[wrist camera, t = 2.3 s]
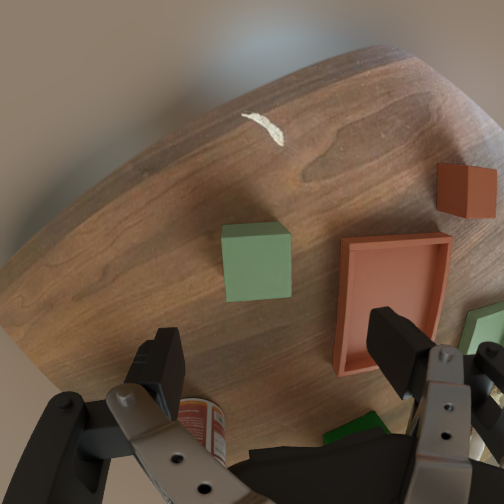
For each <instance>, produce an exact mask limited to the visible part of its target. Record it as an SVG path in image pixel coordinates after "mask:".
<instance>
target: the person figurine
mask: <svg viewBox="0 0 504 504" xmlns="http://www.w3.org/2000/svg"><path fill="white" fill-rule="evenodd" d="M499 401H500V405H499V406H500V408H501V409H503V407H504V394H503V395H502V396H501V397H500V399H499ZM472 431H473V432H472V433H471V434H470V450H469V458H471V459H474V460H477V461H479V459H480V457H481V455H482V453H483V450H484V446H485V443H484V442H483V440H482V439H481V437H480V436H479V435H478V433H477V432H476V430H475V429H474V428H473V427H472Z"/></svg>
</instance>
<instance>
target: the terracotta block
mask: <svg viewBox="0 0 504 504" xmlns="http://www.w3.org/2000/svg"><path fill="white" fill-rule="evenodd" d="M437 166H438V187H437V210H438V211H442V212H445V213H449V214H452V215H456V216H459V217H463V218H466V219H477V218H495V214H496V197H497V170H494V169H488V168H482V167H475V166H469V165H455V164H437Z"/></svg>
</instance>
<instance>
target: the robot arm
mask: <svg viewBox="0 0 504 504" xmlns="http://www.w3.org/2000/svg"><path fill="white" fill-rule="evenodd" d="M366 346H367V350H368V353H369V354H370V356H371V357H372V359H373V360H374V361H375V363H376V364H377V366H378V367H379V368H380V370H381V371H382V373H383V374H384V375H385V377H386V378H387V380H388V381H389V382H390V384H391V385H392V387H393V388H394V390H395V391H396V392H397V394H398V395H399V397H400V398H401V400H405V399H408V398H411V397H413V398H414V402H413V405H412V409H411V413H410V417H409V422H408V426H407V430H406V433H405V435H404V434H386V433H385V432H384V430H383V428H382V426H378V427H374V428H371V429H367V430H363V431H359V432H355V433H352V434H349V435H347V436H345V437H343V438H341V439H339V440H336V441H334V442H332V443H330V444H327V445H325V446H322V447H289V446H281V447H273V448H264V449H254V450H249V457H250V459H248V460H245V461H242V462H239V463H237V464H234V465H232V466H230V467H228V468H226V467H225V466H224V465H222V464H221V463H220V462H219V461H218V460H217V459H216V458H215V457H214V456H213V455H212V454H211V453H210V452H209V451H208V450H207V449H206V448H205V447H204V446H203V445H202V444H201V443H200V442H199V441H198V440H197V439H196V438H195V437H194V436H193V435H192V434H191V433H190V432H189V431H188V430H187V429H186V428H185V427H184V426H183V425H182V424H181V423H180V422H179V421H178V420H177V418H178V412H179V405H180V399H181V393H182V387H183V382H184V376H185V360H184V355H183V350H182V345H181V340H180V335H179V331H178V328H177V327H170V328H159V329H158V331H157V333H156V336H155V339H154V340H147V341H146V342H144V343H143V344H142V345H141V346H140V347H139V349H138V351H137V353H136V356H135V358H134V360H133V363H132V365H131V367H130V370H129V372H128V374H127V377H126V379H125V381H124V384H121V385H118V386H116V387H114V388H112V389H111V390H110V391H109V392H108V394H107V396H106V399H105V400H100V401H93V402H86V403H85V402H84V400H83V398H82V397H81V395H79V394H78V393H76V392H71V391H68V392H62V393H59V394H57V395H55V396H54V397H53V398H52V399H51V400H50V401H49V402H48V404H47V406H46V408H45V410H44V412H43V414H42V416H41V417H40V419H39V421H38V423H37V425H36V427H35V429H34V431H33V433H32V435H31V437H30V439H29V441H28V443H27V446H26V448H25V450H24V452H23V454H22V456H21V459H20V461H19V463H18V465H17V467H16V470H15V472H14V474H13V477H12V479H11V482H10V484H9V487H8V489H7V492H6V494H5V497H4V500H3V502H2V504H102V500H103V495H104V490H105V484H106V480H107V475H108V470H109V466H110V462H111V458H116V457H123V456H130V455H133V456H134V457H135V459H136V460H137V462H138V463H139V465H140V466H141V468H142V469H143V471H144V472H145V474H146V475H147V476H148V478H149V479H150V480H151V482H152V483H153V485H154V486H155V487H156V489H157V490H158V491H159V493H160V494H161V496H162V497H163V498H164V500H165V501H166V502H167V504H504V407H503V409H501V408H500V406H499V405H498V404H497V403H496V402H495V401H494V399H493V398H492V397H491V396H490V392H491V390H492V388H493V386H494V384H495V385H496V386H497V387H498V389H499V390H500V391H501V392H502V393H503V394H504V347H503V346H501V345H500V344H498V343H495V342H491V341H486V342H482V343H480V344H479V345H478V348H477V351H476V354H470V355H462V353H461V351H460V350H458V349H457V348H455V347H453V346H450V345H444V344H441V345H436V344H435V343H434V342H433V341H432V340H431V339H430V338H429V337H428V336H427V335H426V334H425V333H423V332H421V330H420V329H419V328H418V327H416V325H415V324H414V323H413V322H411V321H410V320H409V319H407V318H405V317H403V316H401V315H398V314H397V313H396V312H395V311H394V310H392V309H391V308H390V307H389V306H385V307H379V308H373V309H372V310H371V311H370V316H369V324H368V331H367V338H366ZM471 425H472V426H473V428H474V429H475V430H476V432H477V433H478V435H479V436H480V437H481V439H482V440H483V442H484V443H485V445H486V446H487V447H488V449H489V450H490V452H491V453H492V455H493V456H494V457H495V459H496V461H497V462H498V464H499V467H496V466H492V465H489V464H486V463H483V462H480V461H477V460H474V459H471V458H469V450H470V433H471Z"/></svg>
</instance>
